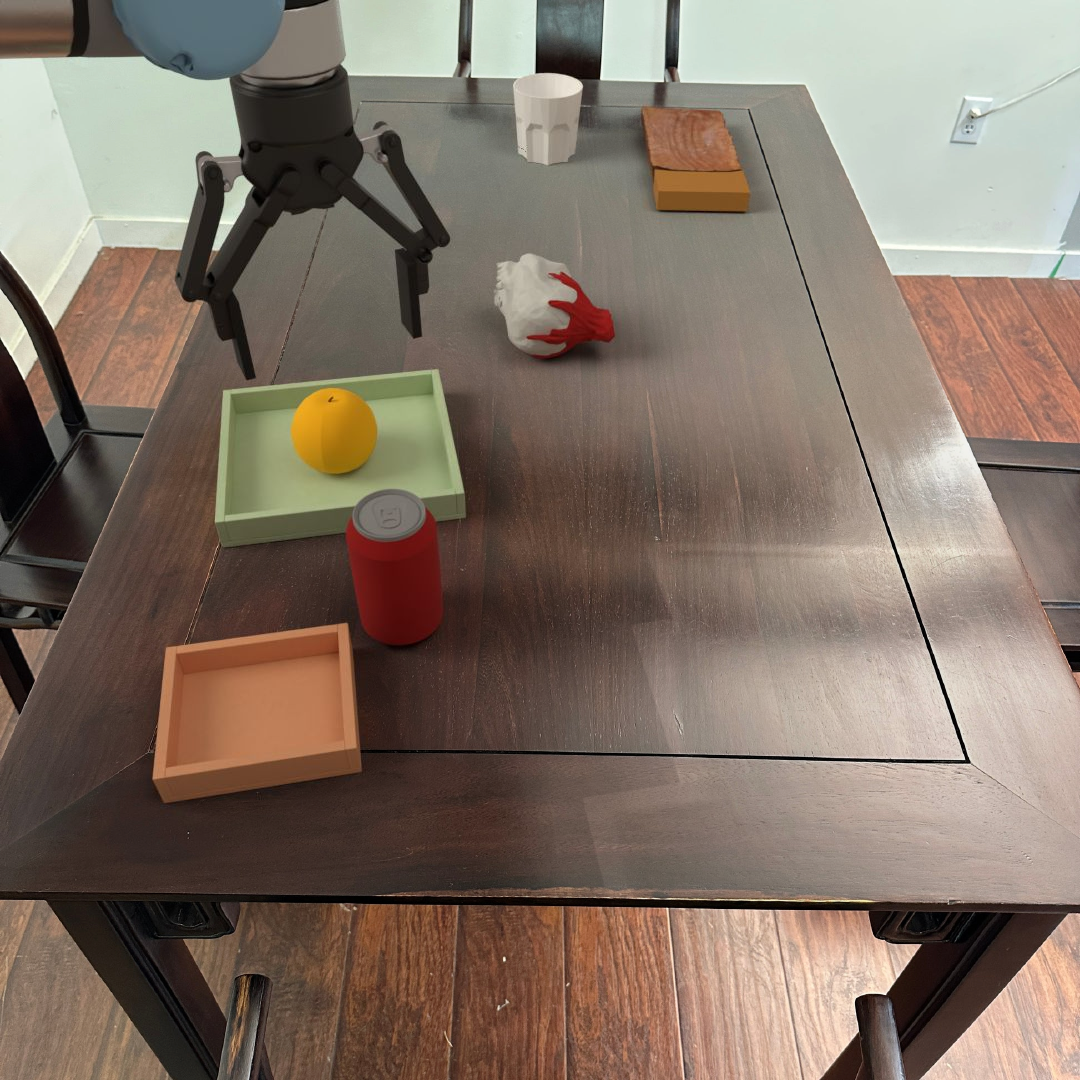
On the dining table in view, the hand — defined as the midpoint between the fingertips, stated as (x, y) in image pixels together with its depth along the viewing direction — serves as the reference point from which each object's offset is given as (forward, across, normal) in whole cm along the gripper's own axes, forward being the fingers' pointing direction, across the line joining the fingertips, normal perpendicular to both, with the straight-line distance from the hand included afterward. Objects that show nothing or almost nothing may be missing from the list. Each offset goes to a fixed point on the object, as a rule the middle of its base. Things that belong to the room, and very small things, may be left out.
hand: (331, 349), depth 77 cm
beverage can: (+17, +1, +14) cm, 23 cm away
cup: (+17, -52, -63) cm, 83 cm away
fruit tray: (+17, -1, -7) cm, 18 cm away
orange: (+17, -1, -7) cm, 18 cm away
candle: (+17, -28, -17) cm, 37 cm away
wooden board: (+17, -69, -50) cm, 87 cm away
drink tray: (+17, +14, +19) cm, 29 cm away
